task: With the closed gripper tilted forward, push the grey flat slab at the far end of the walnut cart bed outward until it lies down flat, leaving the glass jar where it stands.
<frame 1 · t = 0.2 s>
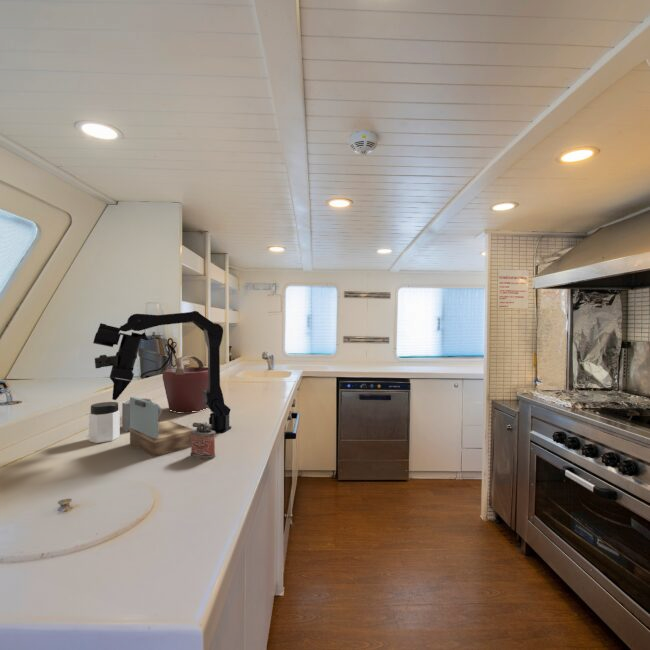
hand: (114, 397, 115), 16 cm above the counter, tool pointing down, fingers open, 9 cm apart
grey flat slab: (142, 416, 111), point 10 cm above the counter, hinge at 0.0°
jar: (104, 439, 121), on the counter
lighter: (202, 457, 105), on the counter
bucket: (188, 409, 166), on the counter
grey mug: (142, 427, 137), on the counter
cart bed: (162, 444, 115), on the counter
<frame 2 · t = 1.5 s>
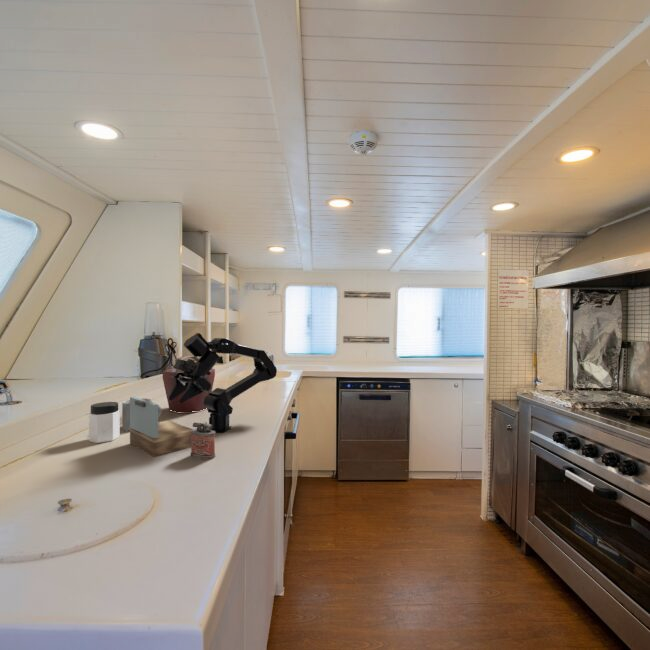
hand: (174, 401, 119), 13 cm above the counter, tool tilted 45°, fingers open, 7 cm apart
nothing on the counter moved.
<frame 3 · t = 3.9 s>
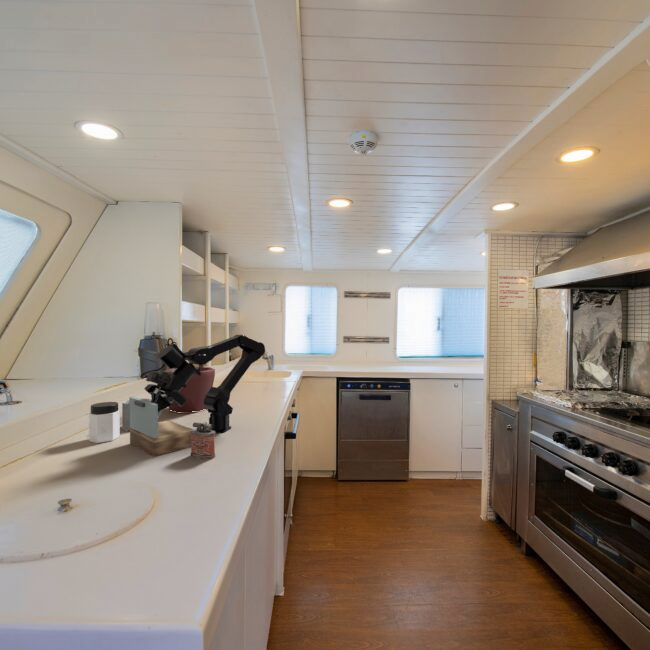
hand: (145, 416, 112), 10 cm above the counter, tool tilted 45°, fingers closed, pressing on grey flat slab
grey flat slab: (141, 416, 111), point 10 cm above the counter, hinge at 1.1°, touching gripper
everything else where it was.
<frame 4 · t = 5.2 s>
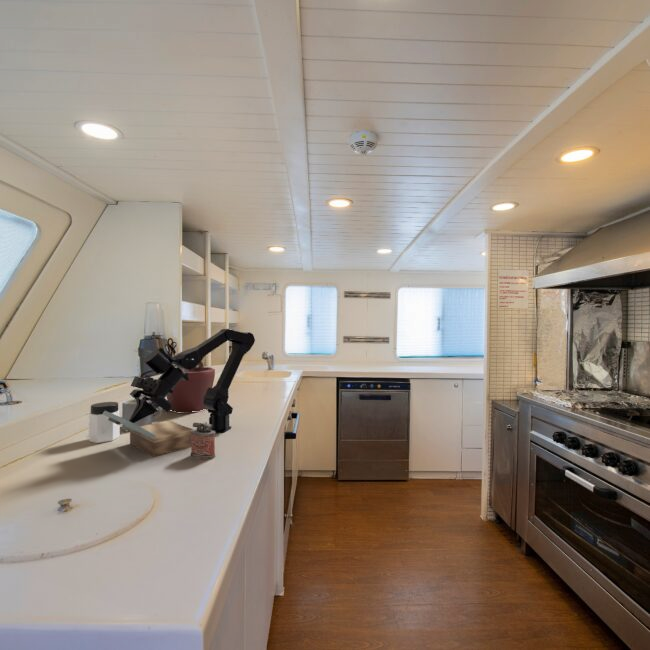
hand: (130, 422, 108), 9 cm above the counter, tool tilted 45°, fingers closed, pressing on grey flat slab
grey flat slab: (127, 425, 108), point 8 cm above the counter, hinge at 52.1°, touching gripper
everything else where it was.
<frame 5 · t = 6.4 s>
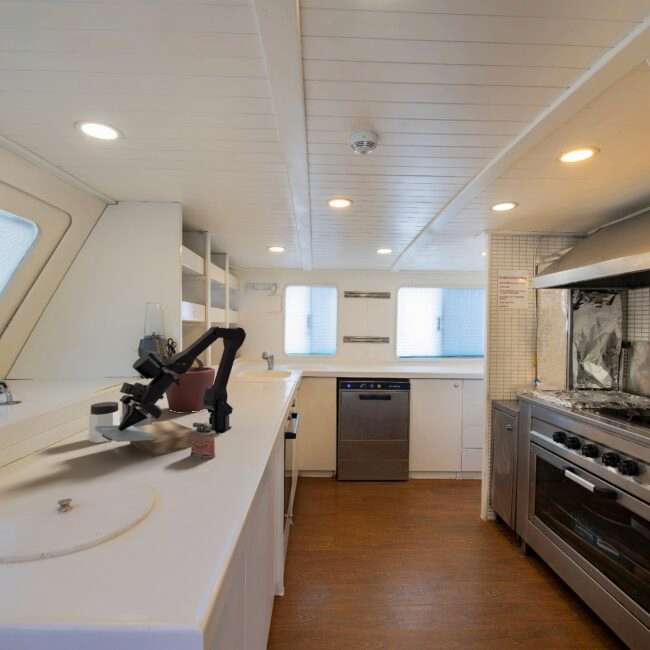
hand: (119, 429, 106), 8 cm above the counter, tool tilted 45°, fingers closed, pressing on grey flat slab
grey flat slab: (123, 433, 107), point 6 cm above the counter, hinge at 79.8°, touching gripper
everything else where it was.
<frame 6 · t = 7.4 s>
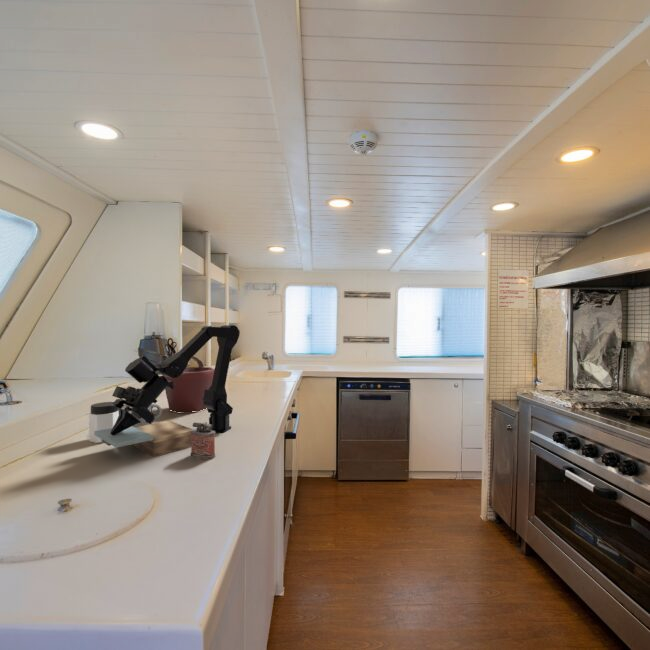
hand: (111, 434, 104), 7 cm above the counter, tool tilted 45°, fingers closed, pressing on grey flat slab
grey flat slab: (123, 436, 107), point 5 cm above the counter, hinge at 88.2°, touching gripper
everything else where it was.
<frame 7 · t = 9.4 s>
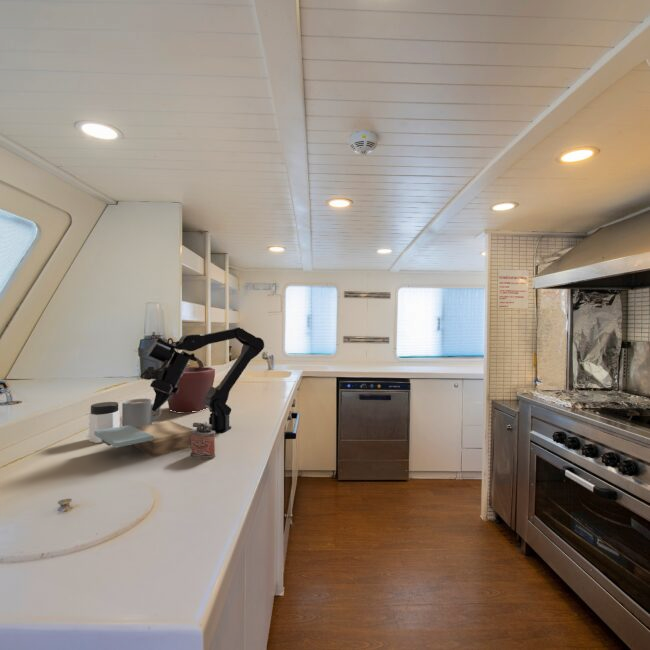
hand: (153, 410, 118), 10 cm above the counter, tool tilted 25°, fingers closed
grey flat slab: (123, 436, 107), point 5 cm above the counter, hinge at 88.3°
everything else where it was.
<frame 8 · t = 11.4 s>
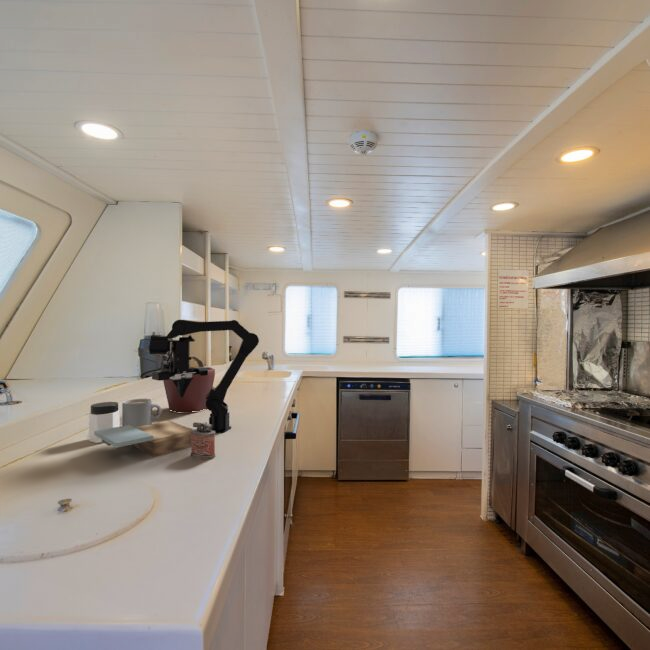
hand: (181, 397, 128), 13 cm above the counter, tool pointing down, fingers closed
nothing on the counter moved.
at the end: grey flat slab at +88° (first picture: +0°); jar moved 0.2 cm from its start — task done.
